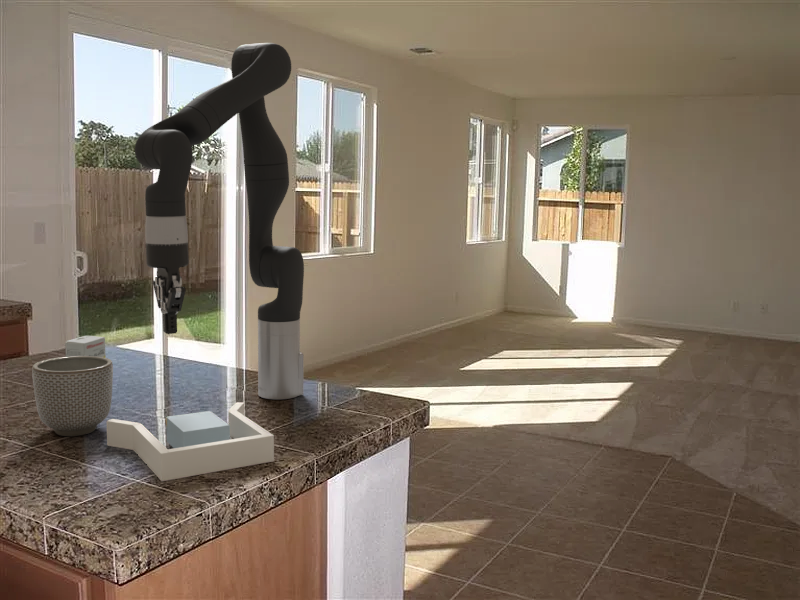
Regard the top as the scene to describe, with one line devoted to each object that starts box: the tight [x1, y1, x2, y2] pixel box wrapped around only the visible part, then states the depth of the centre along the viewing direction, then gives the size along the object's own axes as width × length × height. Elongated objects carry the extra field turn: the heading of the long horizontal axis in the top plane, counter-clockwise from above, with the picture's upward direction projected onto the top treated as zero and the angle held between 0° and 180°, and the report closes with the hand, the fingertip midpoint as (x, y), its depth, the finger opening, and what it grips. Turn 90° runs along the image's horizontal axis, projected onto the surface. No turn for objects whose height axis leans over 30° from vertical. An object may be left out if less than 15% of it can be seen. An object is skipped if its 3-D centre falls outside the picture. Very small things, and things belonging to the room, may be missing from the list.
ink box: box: [64, 335, 107, 358], centre depth 177 cm, size 9×5×12 cm, turn 168°
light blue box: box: [165, 410, 231, 449], centre depth 139 cm, size 8×10×6 cm
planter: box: [31, 356, 114, 437], centre depth 148 cm, size 14×14×13 cm
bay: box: [106, 401, 275, 482], centre depth 139 cm, size 26×23×4 cm
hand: (170, 332), depth 149 cm, fingers closed
